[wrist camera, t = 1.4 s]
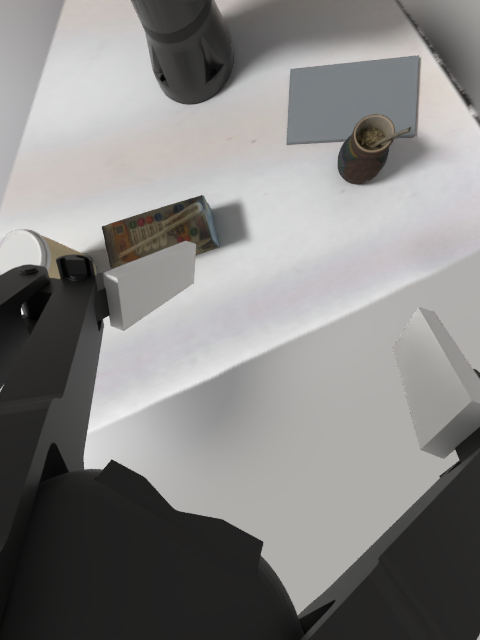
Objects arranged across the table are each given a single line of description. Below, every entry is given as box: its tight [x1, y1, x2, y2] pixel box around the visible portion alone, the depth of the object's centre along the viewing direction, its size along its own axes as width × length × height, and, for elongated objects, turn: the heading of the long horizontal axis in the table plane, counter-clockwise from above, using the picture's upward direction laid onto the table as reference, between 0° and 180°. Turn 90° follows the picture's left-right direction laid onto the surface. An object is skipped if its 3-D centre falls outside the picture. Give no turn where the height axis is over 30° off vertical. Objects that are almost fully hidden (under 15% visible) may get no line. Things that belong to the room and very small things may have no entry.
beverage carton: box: [102, 195, 220, 269], centre depth 44 cm, size 8×19×7 cm, turn 103°
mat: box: [287, 55, 419, 145], centre depth 42 cm, size 13×20×1 cm, turn 87°
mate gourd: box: [338, 113, 411, 184], centre depth 37 cm, size 7×8×10 cm
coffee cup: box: [0, 229, 97, 279], centre depth 44 cm, size 9×9×12 cm
